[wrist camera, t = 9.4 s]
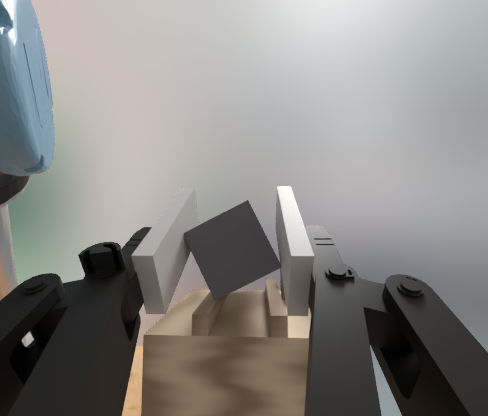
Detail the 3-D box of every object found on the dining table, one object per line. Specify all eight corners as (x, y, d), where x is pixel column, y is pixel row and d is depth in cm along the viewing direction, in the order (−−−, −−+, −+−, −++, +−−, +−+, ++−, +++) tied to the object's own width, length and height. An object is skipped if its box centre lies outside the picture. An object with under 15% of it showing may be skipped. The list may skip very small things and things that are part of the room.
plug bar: (214, 300, 12) (182, 233, 12) (245, 251, 36) (234, 228, 36) (282, 267, 12) (247, 200, 12) (267, 240, 36) (256, 217, 36)
